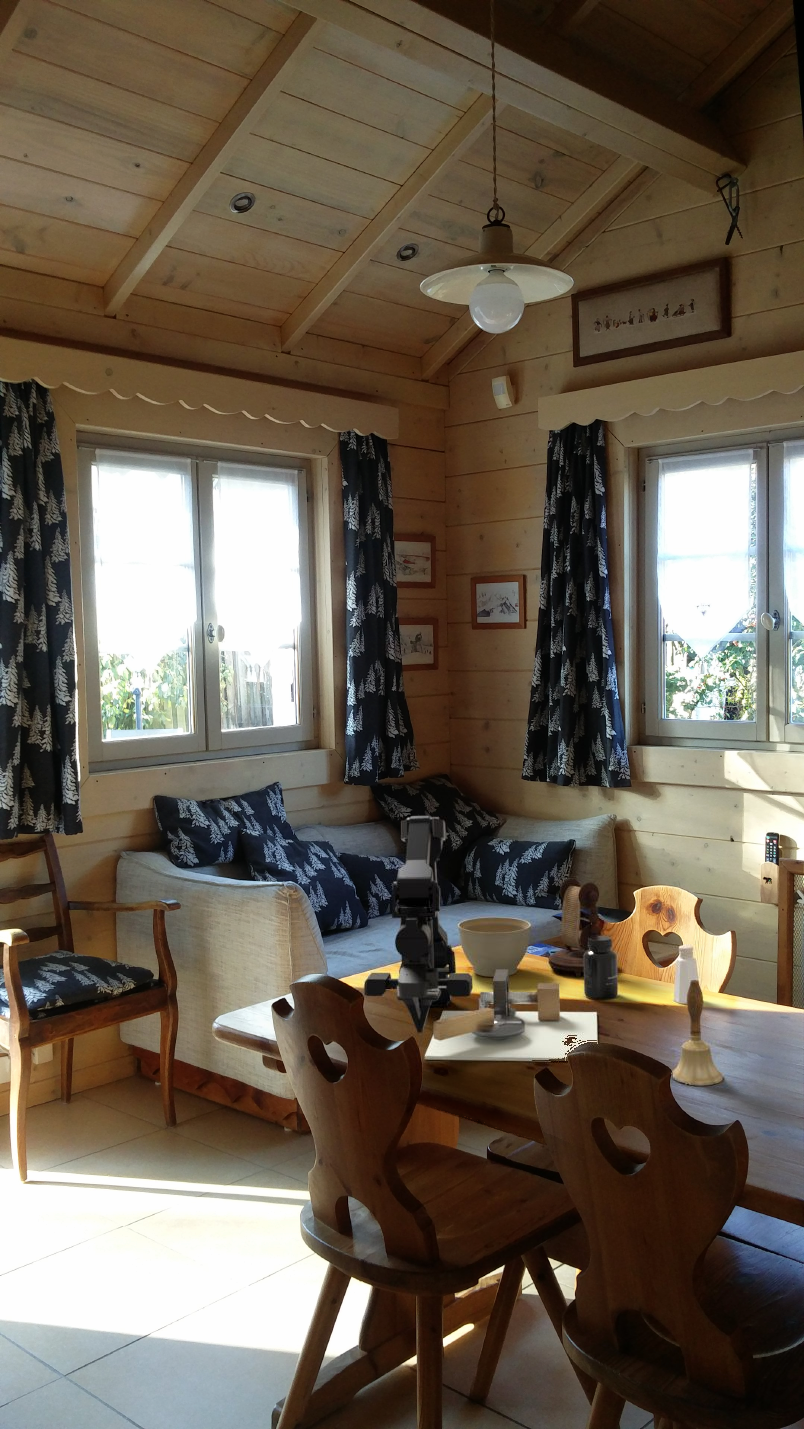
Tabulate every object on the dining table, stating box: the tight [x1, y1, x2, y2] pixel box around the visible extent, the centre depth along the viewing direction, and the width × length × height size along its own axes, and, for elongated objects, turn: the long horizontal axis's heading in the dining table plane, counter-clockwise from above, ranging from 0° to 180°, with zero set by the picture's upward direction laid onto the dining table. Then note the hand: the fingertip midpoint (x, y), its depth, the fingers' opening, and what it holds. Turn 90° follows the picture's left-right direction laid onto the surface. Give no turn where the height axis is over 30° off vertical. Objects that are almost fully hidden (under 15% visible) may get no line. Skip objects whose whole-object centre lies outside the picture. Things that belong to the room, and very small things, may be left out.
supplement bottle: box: [583, 935, 619, 1001], centre depth 244 cm, size 7×7×12 cm
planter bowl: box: [457, 916, 532, 978], centre depth 265 cm, size 16×16×11 cm
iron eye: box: [492, 969, 516, 1016], centre depth 229 cm, size 4×10×8 cm, turn 171°
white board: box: [424, 1010, 598, 1062], centre depth 220 cm, size 30×27×2 cm
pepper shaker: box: [673, 944, 700, 1005], centre depth 238 cm, size 5×5×11 cm
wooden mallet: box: [478, 982, 561, 1020], centre depth 229 cm, size 15×4×6 cm, turn 81°
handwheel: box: [432, 1007, 525, 1041], centre depth 215 cm, size 16×16×4 cm
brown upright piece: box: [548, 877, 602, 978], centre depth 265 cm, size 15×15×20 cm
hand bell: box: [672, 980, 724, 1087], centre depth 195 cm, size 8×8×16 cm
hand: (420, 1032), depth 211 cm, fingers closed
